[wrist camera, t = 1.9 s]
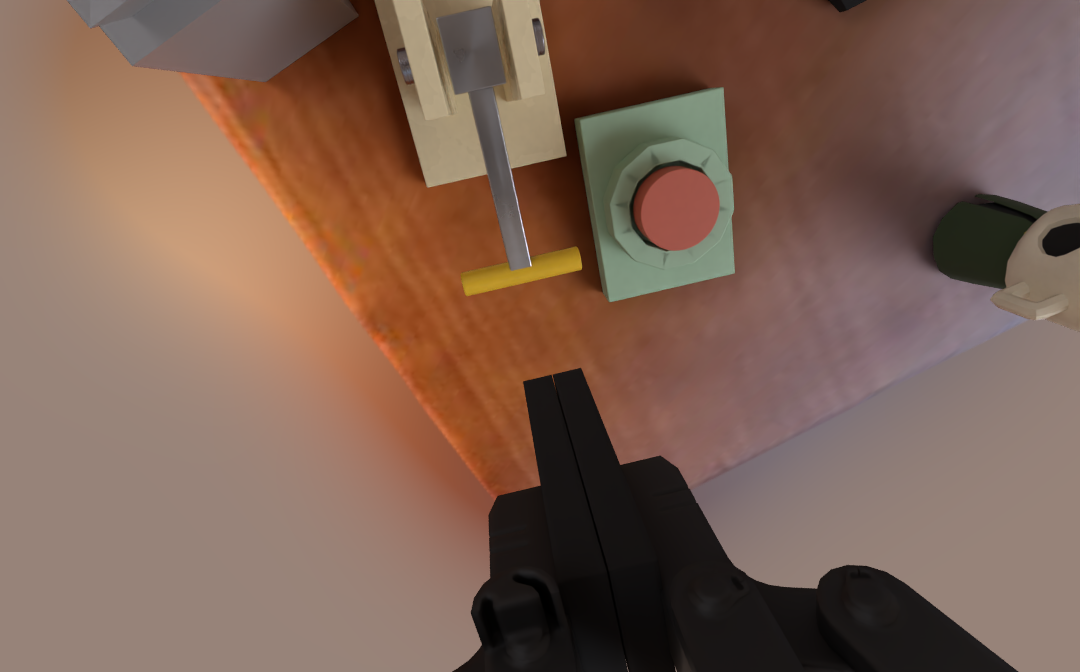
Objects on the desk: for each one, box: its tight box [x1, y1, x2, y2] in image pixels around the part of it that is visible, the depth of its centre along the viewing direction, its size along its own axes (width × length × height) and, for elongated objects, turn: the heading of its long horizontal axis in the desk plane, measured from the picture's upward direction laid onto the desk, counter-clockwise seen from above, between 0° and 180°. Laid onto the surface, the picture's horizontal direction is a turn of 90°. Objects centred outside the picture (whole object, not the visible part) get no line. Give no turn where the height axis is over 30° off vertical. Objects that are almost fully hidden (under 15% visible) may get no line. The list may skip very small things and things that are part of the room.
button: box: [633, 166, 720, 251], centre depth 33 cm, size 5×5×2 cm
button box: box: [574, 87, 735, 302], centre depth 35 cm, size 12×9×4 cm
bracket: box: [374, 0, 566, 187], centre depth 27 cm, size 12×9×13 cm
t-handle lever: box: [436, 6, 582, 296], centre depth 25 cm, size 12×6×2 cm, turn 12°
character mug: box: [933, 194, 1080, 332], centre depth 35 cm, size 11×7×13 cm, turn 113°
